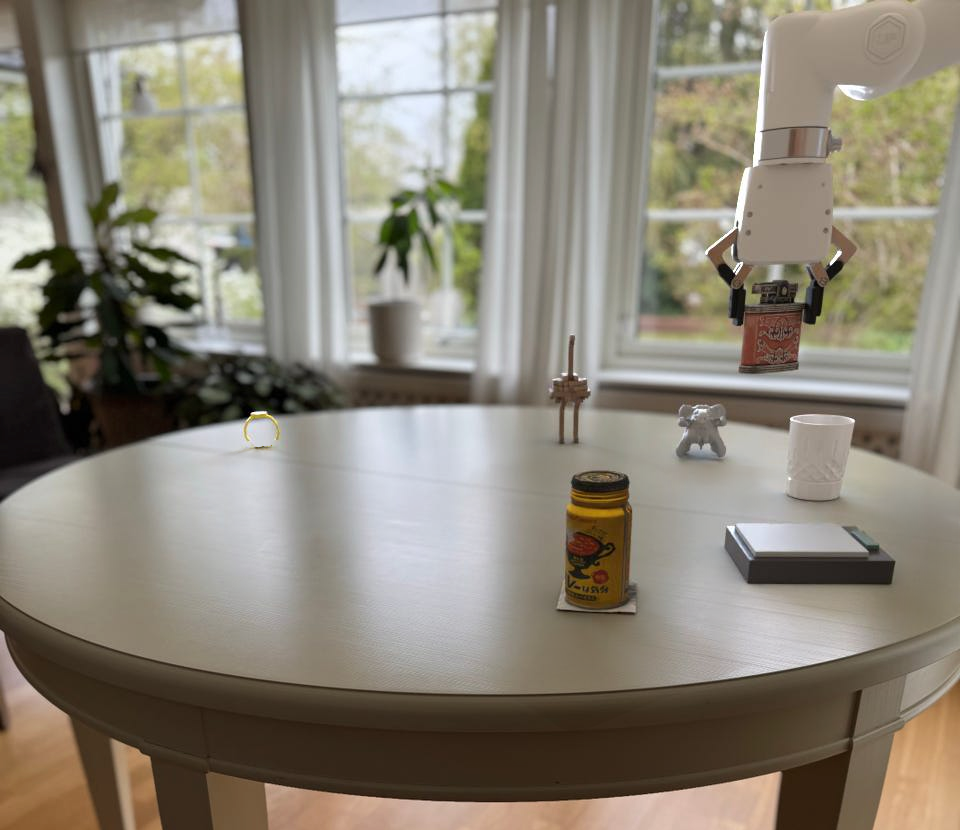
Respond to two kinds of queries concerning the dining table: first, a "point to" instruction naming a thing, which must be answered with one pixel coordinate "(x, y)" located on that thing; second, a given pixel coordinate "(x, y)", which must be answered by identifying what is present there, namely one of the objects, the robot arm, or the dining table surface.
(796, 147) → the robot arm
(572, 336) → the ostrich figurine
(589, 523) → the condiment
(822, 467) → the white cup
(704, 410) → the elephant statuette
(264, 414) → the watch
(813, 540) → the scale
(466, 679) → the dining table surface
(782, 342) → the lighter
